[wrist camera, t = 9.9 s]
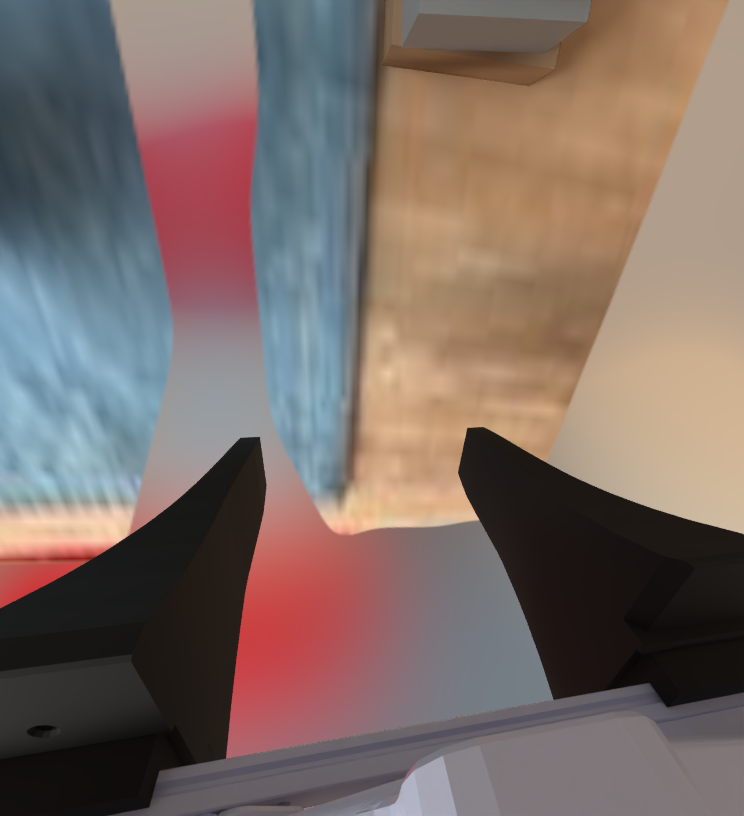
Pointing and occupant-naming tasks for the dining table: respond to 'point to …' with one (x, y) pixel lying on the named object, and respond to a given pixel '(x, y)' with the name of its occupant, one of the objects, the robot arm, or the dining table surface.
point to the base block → (463, 57)
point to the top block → (491, 24)
